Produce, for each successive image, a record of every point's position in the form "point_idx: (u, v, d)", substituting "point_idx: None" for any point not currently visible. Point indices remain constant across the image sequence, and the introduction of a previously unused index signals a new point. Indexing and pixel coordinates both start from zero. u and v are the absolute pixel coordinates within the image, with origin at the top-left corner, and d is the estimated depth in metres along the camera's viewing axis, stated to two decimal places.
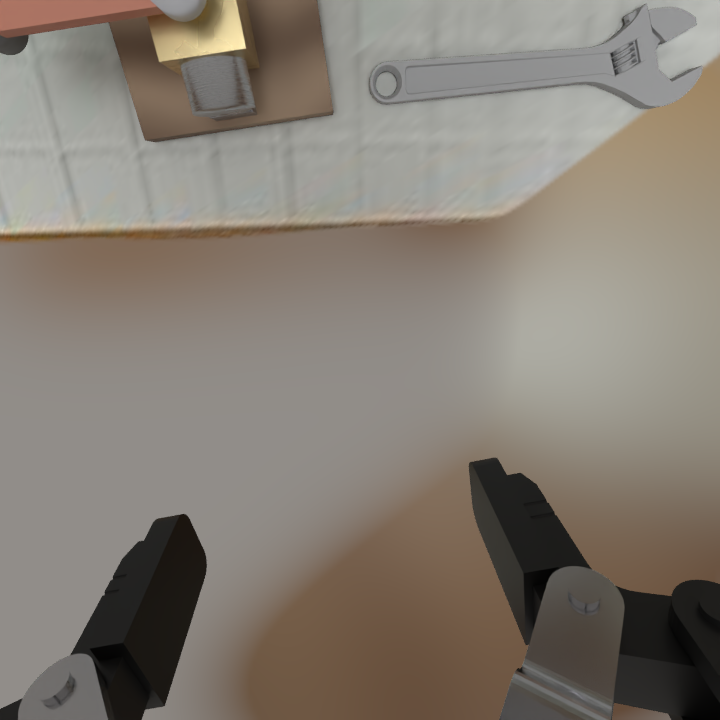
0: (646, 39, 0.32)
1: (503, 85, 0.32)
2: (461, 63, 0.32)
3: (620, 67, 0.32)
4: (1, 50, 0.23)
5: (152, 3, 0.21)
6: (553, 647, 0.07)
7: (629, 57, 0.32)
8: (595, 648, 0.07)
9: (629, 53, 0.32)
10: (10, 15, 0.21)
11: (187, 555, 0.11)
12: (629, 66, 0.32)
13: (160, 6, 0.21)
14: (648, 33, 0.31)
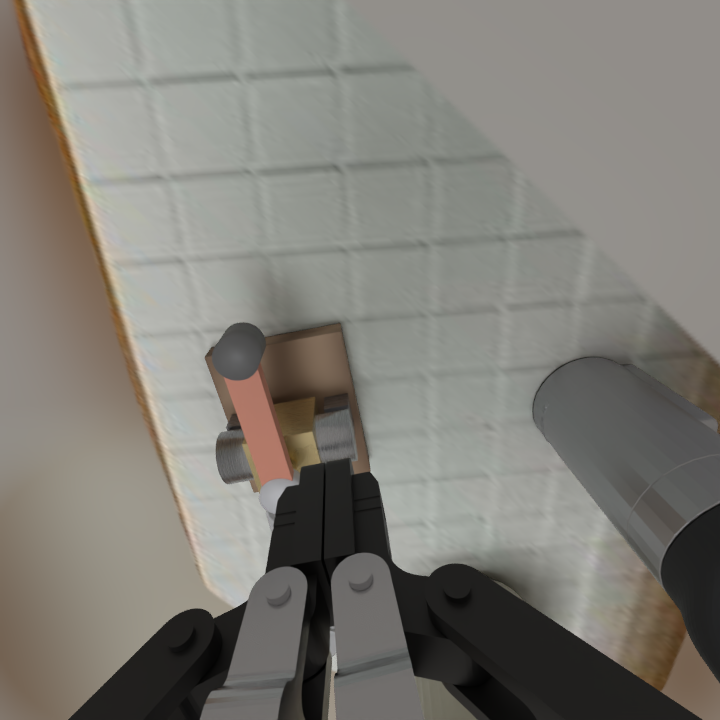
0: None
1: None
2: None
3: None
4: None
5: (263, 484, 0.28)
6: (354, 635, 0.08)
7: None
8: (382, 613, 0.08)
9: None
10: (238, 390, 0.25)
11: None
12: None
13: (261, 492, 0.28)
14: None
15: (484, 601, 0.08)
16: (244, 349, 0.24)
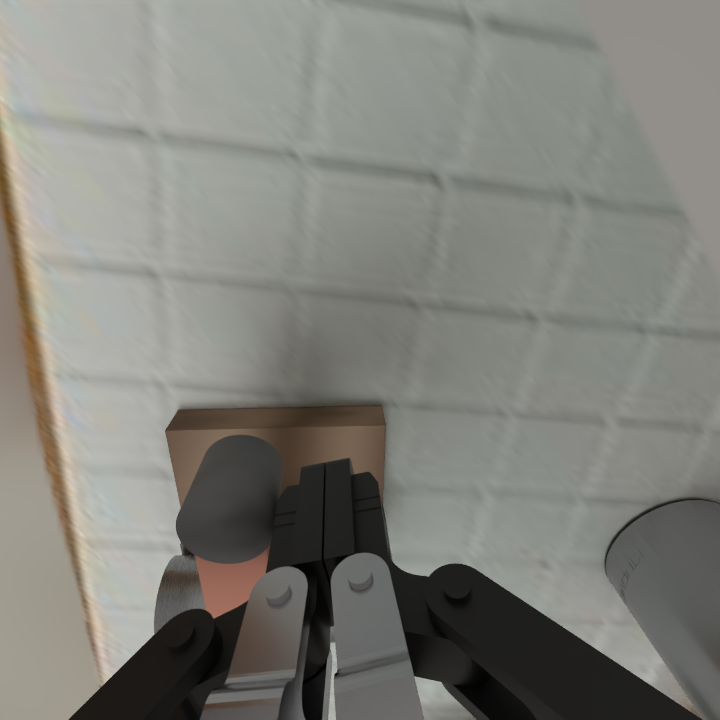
0: None
1: None
2: None
3: None
4: None
5: None
6: (354, 635, 0.08)
7: None
8: (381, 613, 0.08)
9: None
10: (218, 578, 0.12)
11: None
12: None
13: None
14: None
15: (484, 601, 0.08)
16: (248, 513, 0.11)
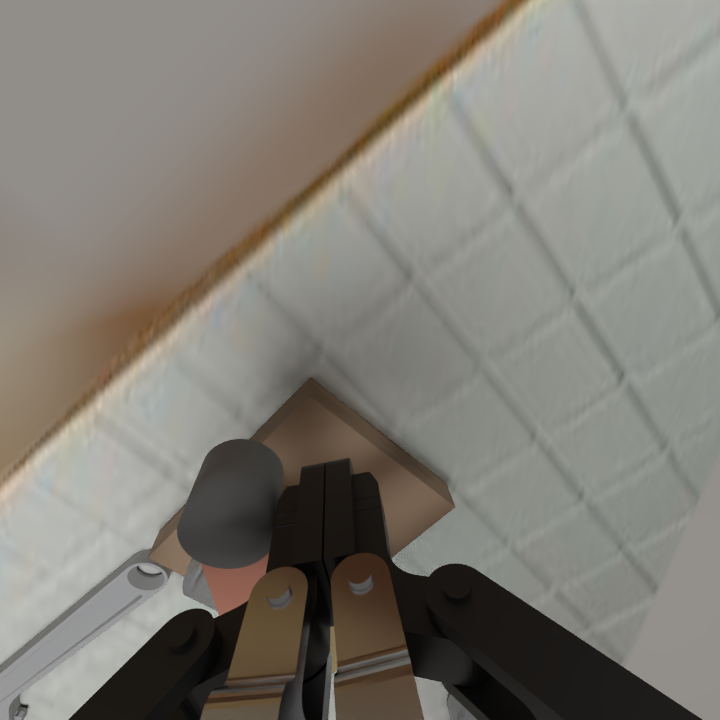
0: None
1: (47, 640, 0.28)
2: (101, 624, 0.28)
3: None
4: None
5: None
6: (354, 635, 0.08)
7: None
8: (382, 613, 0.08)
9: None
10: (226, 583, 0.13)
11: None
12: None
13: None
14: None
15: (484, 601, 0.08)
16: (246, 517, 0.11)
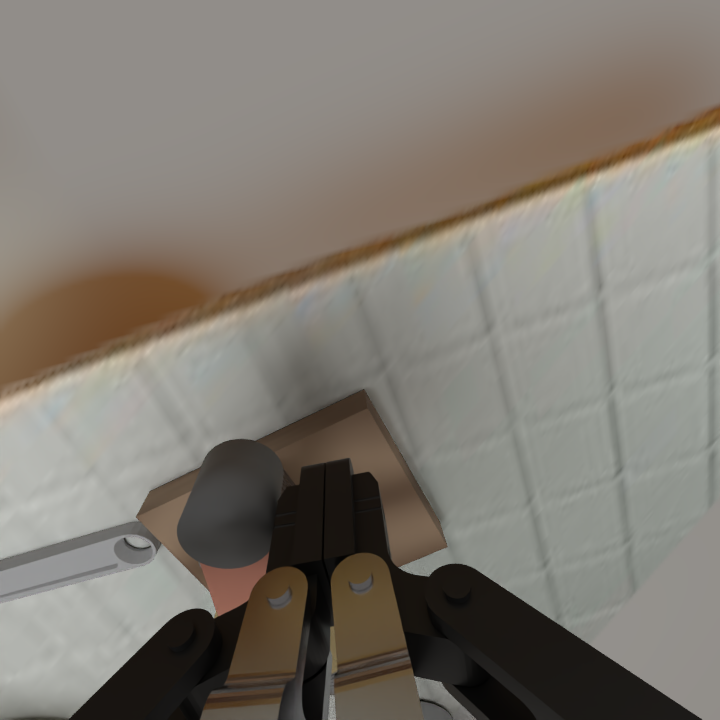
0: None
1: None
2: (55, 580, 0.26)
3: None
4: None
5: None
6: (354, 635, 0.08)
7: None
8: (381, 613, 0.08)
9: None
10: (225, 583, 0.13)
11: None
12: None
13: None
14: None
15: (484, 601, 0.08)
16: (246, 517, 0.11)
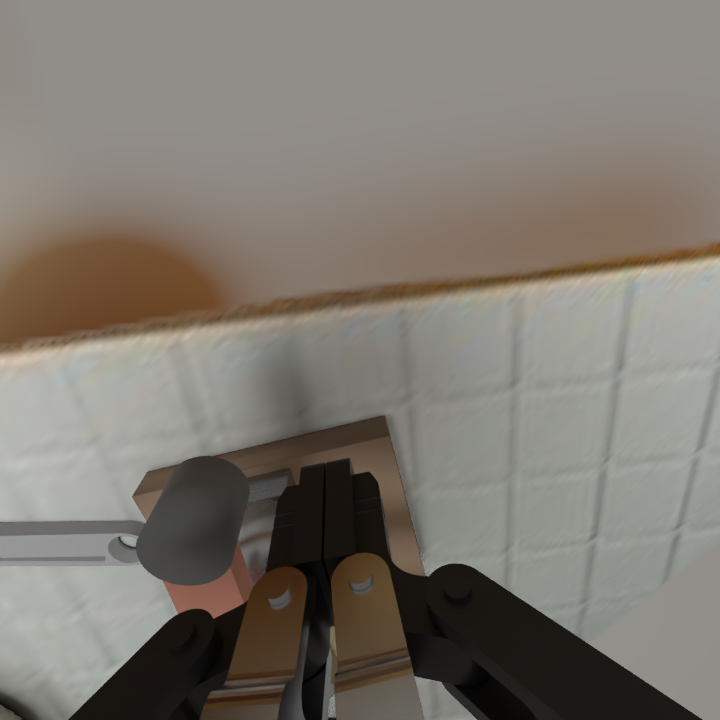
0: None
1: None
2: (34, 558, 0.26)
3: None
4: None
5: None
6: (354, 635, 0.08)
7: None
8: (382, 613, 0.08)
9: None
10: (190, 599, 0.13)
11: None
12: None
13: None
14: None
15: (484, 601, 0.08)
16: (203, 535, 0.12)
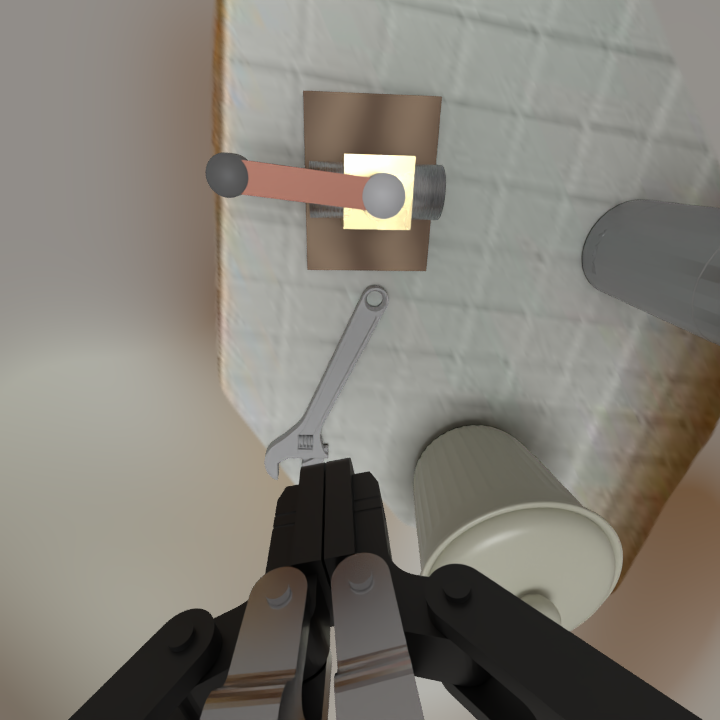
0: (309, 454, 0.49)
1: (330, 371, 0.45)
2: (357, 350, 0.44)
3: (301, 438, 0.48)
4: None
5: (364, 207, 0.28)
6: (354, 635, 0.08)
7: (304, 444, 0.48)
8: (382, 613, 0.08)
9: (306, 444, 0.48)
10: (258, 187, 0.27)
11: None
12: (299, 443, 0.48)
13: (370, 212, 0.28)
14: (311, 456, 0.49)
15: (484, 601, 0.08)
16: (218, 163, 0.27)
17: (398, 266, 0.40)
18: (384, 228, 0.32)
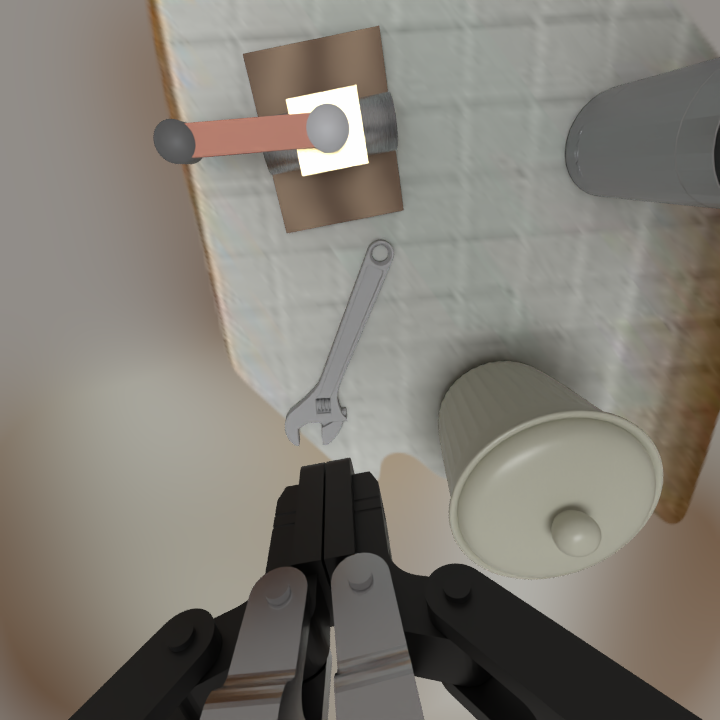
0: (328, 418, 0.49)
1: (342, 331, 0.45)
2: (367, 308, 0.44)
3: (319, 402, 0.49)
4: None
5: (312, 144, 0.28)
6: (354, 635, 0.08)
7: (322, 407, 0.49)
8: (382, 613, 0.08)
9: (324, 408, 0.49)
10: (206, 147, 0.28)
11: None
12: (317, 407, 0.49)
13: (318, 148, 0.28)
14: (330, 419, 0.49)
15: (484, 601, 0.08)
16: (163, 131, 0.28)
17: (374, 211, 0.39)
18: (342, 166, 0.32)
